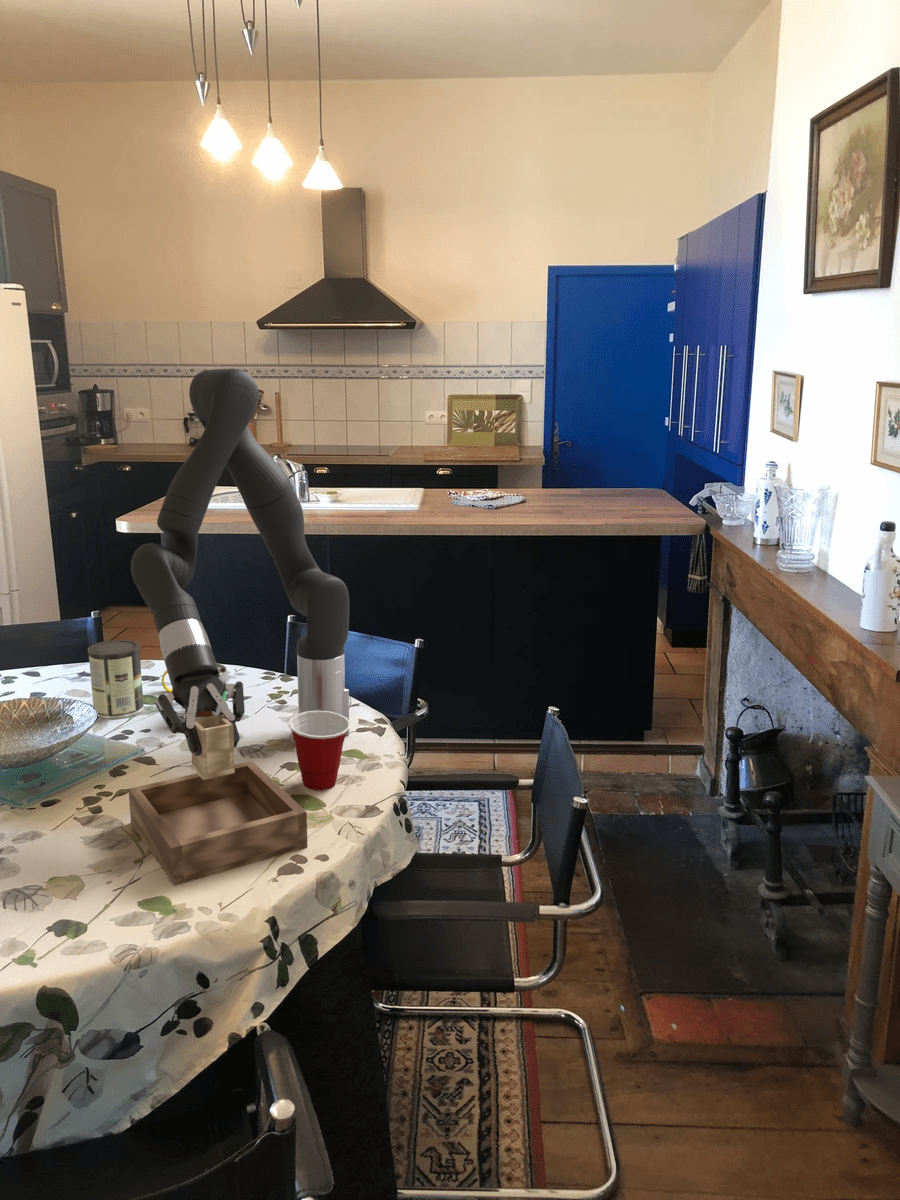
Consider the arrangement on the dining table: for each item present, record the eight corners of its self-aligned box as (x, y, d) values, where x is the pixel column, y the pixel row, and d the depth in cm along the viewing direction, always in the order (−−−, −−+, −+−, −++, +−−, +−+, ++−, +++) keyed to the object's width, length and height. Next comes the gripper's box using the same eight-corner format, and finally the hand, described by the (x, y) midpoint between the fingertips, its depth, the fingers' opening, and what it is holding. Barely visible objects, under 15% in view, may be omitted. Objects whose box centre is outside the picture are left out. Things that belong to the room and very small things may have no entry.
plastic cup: (325, 803, 163) (324, 738, 159) (277, 787, 168) (275, 724, 165) (363, 780, 171) (363, 718, 168) (316, 766, 177) (315, 705, 174)
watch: (189, 690, 215) (190, 665, 214) (189, 694, 213) (189, 669, 211) (162, 689, 214) (162, 664, 213) (161, 693, 212) (161, 668, 210)
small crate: (223, 761, 152) (221, 714, 150) (234, 773, 148) (233, 724, 146) (192, 767, 149) (190, 720, 147) (203, 779, 145) (201, 730, 143)
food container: (215, 729, 193) (213, 682, 190) (187, 726, 194) (185, 680, 191) (240, 708, 205) (238, 663, 202) (213, 705, 206) (211, 661, 203)
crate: (253, 792, 166) (252, 760, 164) (307, 847, 148) (306, 812, 147) (130, 822, 155) (128, 788, 153) (173, 885, 137) (171, 848, 136)
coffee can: (122, 698, 209) (117, 636, 205) (154, 708, 204) (150, 645, 200) (82, 712, 200) (76, 648, 197) (114, 723, 195) (109, 657, 192)
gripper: (146, 649, 146) (175, 749, 139) (236, 636, 154) (267, 730, 147) (138, 672, 152) (165, 769, 145) (225, 658, 159) (254, 750, 153)
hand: (216, 749), depth 146 cm, fingers closed on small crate, 5 cm apart
